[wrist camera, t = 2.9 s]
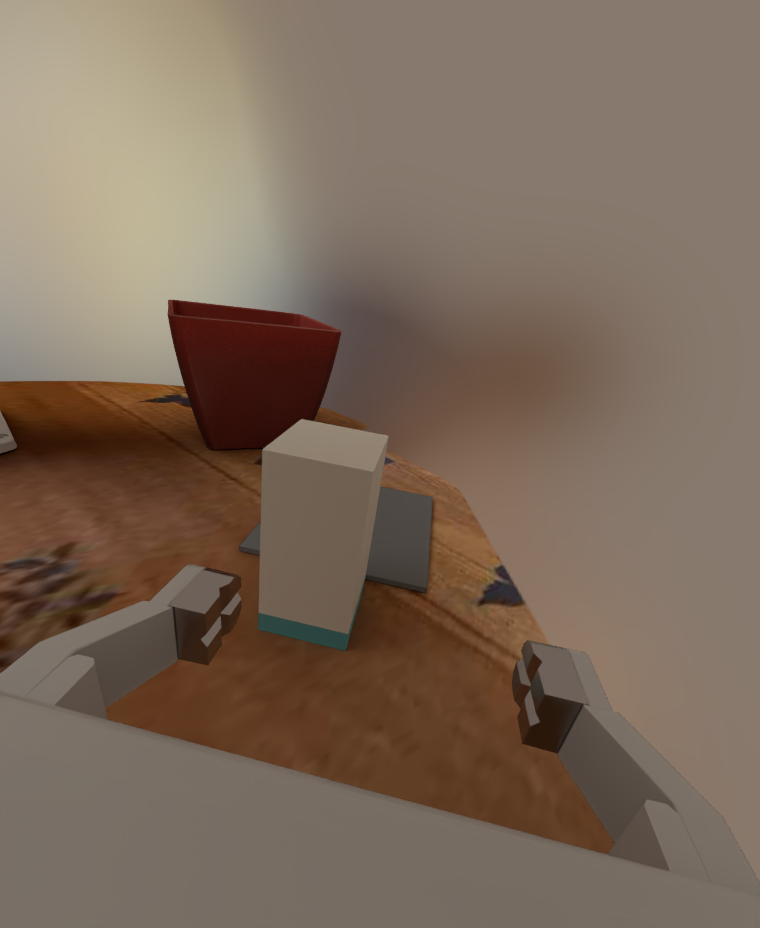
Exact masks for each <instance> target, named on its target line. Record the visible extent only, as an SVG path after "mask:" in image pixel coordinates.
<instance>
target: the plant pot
mask: <svg viewBox="0 0 760 928" xmlns="http://www.w3.org/2000/svg"><path fill="white" fill-rule="evenodd" d="M168 319H169V324H170V329H171V335H172V339H173V344H174V348H175V352H176V356H177V360H178V364H179V368H180V371H181V375H182V379H183V382H184V385H185V389H186V392H187V395H188V398H189V401H190V404H191V407H192V410H193V413H194V416H195V419H196V421H197V424H198V427H199V429H200V432H201V435H202V437H203V439H204V441H205V444H206V446H207V447H208V448H209V449H213V450H222V449H241V448H261V447H266V446H267V445H269V444H270V443H271V442H273V441H274V440H275V439H276V438H278V437H279V436H280V435H282V434H283V433H284V432H285V431H287V430H288V429H289V428H291V427H292V426H293V425H294V424H296V423H297V422H298V421H300V420H301V419H304V420H309V421H314V419H315V417H316V414H317V412H318V410H319V407H320V405H321V402H322V399H323V396H324V393H325V391H326V388H327V384H328V382H329V378H330V375H331V371H332V368H333V364H334V360H335V357H336V353H337V349H338V345H339V340H340V336H341V331H340V330H338V329H336V328H333V327H331V326H328V325H326V324H324V323H321V322H319V321H316V320H314V319H311V318H309V317H307V316H304V315H300V314H293V313H284V312H276V311H267V310H259V309H250V308H241V307H232V306H223V305H215V304H206V303H197V302H188V301H179V300H168Z"/></svg>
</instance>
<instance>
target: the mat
mask: <svg viewBox="0 0 760 928" xmlns="http://www.w3.org/2000/svg"><path fill="white" fill-rule="evenodd" d="M431 515H432V497H429V496H425V495H420V494H415V493H410V492H405V491H400V490H395V489H390V488H385V487H381V486H380V492H379V498H378V504H377V510H376V516H375V522H374V528H373V534H372V540H371V546H370V552H369V558H368V564H367V570H366V576H365V579H366V580H371V581H375V582H380V583H384V584H388V585H393V586H397V587H402V588H406V589H410V590H415V591H419V592H424V593H426V591H427V585H428V567H429V550H430V532H431ZM260 529H261V521H260V522H259V524H258V525H257V526H256V527H255V528H254V529H253V531H252V532H251V533H250V534H249V535H248V536H247V538H246V539H245V540H244V541H243V542H242V543H241V545H240V546H239V551H243V552H247V553H251V554H256V555H260Z"/></svg>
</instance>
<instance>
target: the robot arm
mask: <svg viewBox="0 0 760 928" xmlns="http://www.w3.org/2000/svg"><path fill="white" fill-rule="evenodd" d="M16 447H17V445H16V442H15V440H14V438H13V436H12V434H11V432H10V429H9V427H8V425H7V423H6V421H5V419H4V417H3V415H2V413H1V411H0V453H3V452H7V451H10V450H13V449H15V448H16ZM240 588H241V577H240V576H238V575H234V574H231V573H227V572H223V571H219V570H215V569H211V568H205V567H201V566H197V565H193V564H190V565H187V566H185V567H184V568H183V569H182V570H181V571H180V572H179V573H178V574H177V575H176V576H175V577H174V578H173V579H172V580H171V581H170V582H169V583H168V584H167V585H166V586H164V587H163V588H162V589H161V590H160V591H159V592H158V593H157V594H156V595H155V596H154V597H153V598H152V599H151V600H150V601H149V602H148V601H142V602H139V603H137V604H134V605H132V606H129V607H127V608H124V609H122V610H119V611H117V612H114V613H112V614H109V615H106V616H104V617H101V618H99V619H96V620H94V621H91V622H89V623H86V624H84V625H81V626H79V627H76V628H74V629H71V630H69V631H66V632H64V633H61V634H59V635H56V636H54V637H51V638H49V639H46V640H44V641H41V642H39V643H38V644H36V645H35V646H34V647H33V648H31V649H30V650H29V651H28V652H27V653H25V654H24V655H23V656H22V657H20V658H19V659H18V660H17V661H15V662H14V663H13V664H12V665H11V666H9V667H8V668H7V669H6V670H4V671H3V672H2V673H1V674H0V928H760V882H759V880H758V879H757V877H756V875H755V873H754V872H753V870H752V868H751V866H750V864H749V862H748V861H747V859H746V857H745V855H744V853H743V852H742V850H741V848H740V846H739V845H738V842H737V841H736V839H735V837H734V835H733V834H732V832H731V830H730V828H729V826H728V825H727V823H726V821H725V819H724V818H723V816H722V815H721V814H720V813H719V812H718V811H717V810H716V809H715V808H714V807H713V806H712V805H711V804H710V803H709V802H708V801H707V800H706V799H705V798H703V796H702V795H701V794H700V793H699V792H698V791H697V790H696V789H695V788H694V787H693V786H692V785H691V784H689V783H688V781H686V779H685V778H684V777H683V776H682V775H681V774H680V773H679V772H678V771H677V770H676V769H675V768H674V767H673V766H672V765H671V764H670V763H669V762H668V761H667V760H666V759H665V758H664V757H663V756H662V755H661V754H660V753H659V752H658V751H657V750H656V749H654V747H653V746H652V745H651V744H649V742H648V741H647V740H646V739H645V738H644V737H643V736H642V735H641V734H640V733H638V731H637V730H636V729H635V728H634V727H633V726H632V725H631V724H630V723H629V722H628V721H627V720H626V719H625V718H624V717H623V716H622V715H621V714H620V713H617V712H613V710H612V708H611V706H610V704H609V701H608V699H607V697H606V694H605V692H604V690H603V687H602V685H601V683H600V681H599V678H598V676H597V674H596V671H595V669H594V667H593V665H592V662H591V660H590V658H589V656H588V655H587V654H586V653H585V652H581V651H577V650H572V649H567V648H565V649H564V648H561V647H557V646H552V645H548V644H543V643H538V642H534V641H529V640H527V641H526V642H525V643H524V645H523V647H522V650H521V651H522V656H523V659H521V660H519V661H518V662H516V665H515V668H514V671H513V679H512V688H513V696H514V700H515V702H516V703H517V704H518V706H519V707H520V708H521V709H520V712H519V714H518V717H517V718H518V723H519V728H520V734H521V739H522V744H525V745H529V746H532V747H536V748H540V749H543V750H547V751H550V752H554V753H557V756H558V758H559V759H560V761H561V762H562V764H563V765H564V767H565V768H566V770H567V771H568V773H569V774H570V776H571V777H572V779H573V780H574V782H575V783H576V785H577V786H578V788H579V789H580V791H581V792H582V794H583V796H584V797H585V799H586V800H587V802H588V803H589V805H590V806H591V808H592V809H593V811H594V812H595V814H596V815H597V817H598V818H599V820H600V821H601V823H602V824H603V826H604V827H605V829H606V830H607V832H608V833H609V835H610V837H611V838H612V840H613V841H614V843H615V844H614V846H613V847H612V848H611V850H610V851H609V852H608V854H604V853H600V852H596V851H592V850H589V849H585V848H581V847H578V846H574V845H570V844H567V843H563V842H559V841H555V840H552V839H548V838H544V837H541V836H537V835H533V834H530V833H526V832H522V831H518V830H515V829H511V828H507V827H504V826H500V825H496V824H492V823H489V822H485V821H481V820H478V819H474V818H470V817H466V816H463V815H459V814H455V813H452V812H448V811H444V810H440V809H437V808H433V807H429V806H426V805H422V804H418V803H414V802H411V801H407V800H403V799H400V798H396V797H392V796H388V795H385V794H381V793H377V792H374V791H370V790H366V789H362V788H359V787H355V786H351V785H348V784H344V783H340V782H337V781H333V780H329V779H325V778H322V777H318V776H314V775H311V774H307V773H303V772H299V771H296V770H292V769H288V768H285V767H281V766H277V765H274V764H270V763H266V762H262V761H259V760H255V759H251V758H248V757H244V756H240V755H237V754H233V753H229V752H225V751H222V750H218V749H214V748H211V747H207V746H203V745H200V744H196V743H192V742H188V741H185V740H181V739H177V738H174V737H170V736H166V735H163V734H159V733H155V732H151V731H148V730H144V729H140V728H137V727H133V726H129V725H126V724H122V723H118V722H114V721H111V720H108V718H107V714H106V710H105V708H106V707H108V706H109V705H111V704H112V703H114V702H115V701H117V700H119V699H120V698H122V697H123V696H125V695H126V694H128V693H129V692H131V691H132V690H134V689H135V688H137V687H138V686H140V685H142V684H143V683H145V682H146V681H148V680H149V679H151V678H152V677H154V676H155V675H157V674H158V673H160V672H161V671H163V670H164V669H166V668H168V667H169V666H171V665H172V664H174V663H175V662H177V661H178V659H181V660H186V661H190V662H195V663H199V664H204V665H209V663H210V662H211V660H212V659H213V657H214V656H215V654H216V653H217V651H218V650H219V648H220V647H221V646H222V636H224V635H226V634H228V633H230V632H231V630H232V629H233V627H234V626H235V624H236V622H237V619H238V617H239V615H240V610H241V597H240V596H239V594H238V593H237V592H238V591H239V589H240Z"/></svg>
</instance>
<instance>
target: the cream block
mask: <svg viewBox="0 0 760 928" xmlns="http://www.w3.org/2000/svg"><path fill="white" fill-rule="evenodd" d="M388 437H389V436H387V435H382V434H376V433H371V432H366V431H361V430H356V429H351V428H346V427H340V426H335V425H330V424H325V423H320V422H314V421H309V420H304V419H301V420H300V421H298V422H297V423H296V424H294V425H293V426H292V427H291V428H289V429H288V430H287V431H285V432H284V433H283V434H282V435H280V436H279V437H278V438H276V439H275V440H274V441H273V442H271V443H270V444H269V445H267V446H266V447H265V448H264V449H262V485H261V529H260V573H259V617H258V630H262V631H266V632H270V633H274V634H279V635H283V636H287V637H291V638H295V639H299V640H303V641H307V642H311V643H316V644H320V645H324V646H328V647H332V648H336V649H340V650H344V651H346V648H347V645H348V641H349V637H350V634H351V630H352V627H353V623H354V620H355V616H356V613H357V609H358V606H359V602H360V599H361V595H362V592H363V588H364V582H365V576H366V570H367V564H368V558H369V552H370V546H371V540H372V534H373V528H374V522H375V516H376V510H377V504H378V498H379V492H380V486H381V480H382V474H383V468H384V462H385V456H386V450H387V443H388Z"/></svg>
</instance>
